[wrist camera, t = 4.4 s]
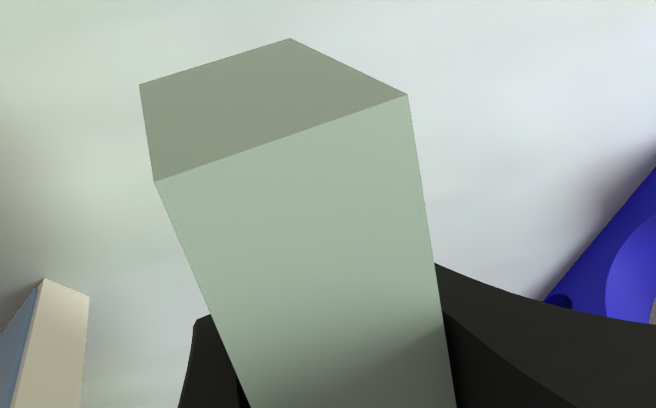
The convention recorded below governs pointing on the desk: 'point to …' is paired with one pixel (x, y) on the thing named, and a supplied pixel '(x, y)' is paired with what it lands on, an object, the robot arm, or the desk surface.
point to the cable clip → (617, 264)
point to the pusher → (304, 227)
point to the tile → (45, 349)
